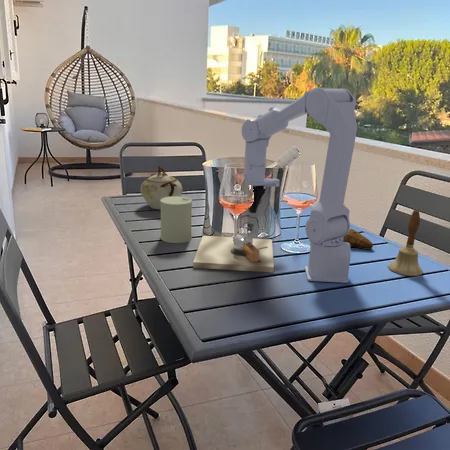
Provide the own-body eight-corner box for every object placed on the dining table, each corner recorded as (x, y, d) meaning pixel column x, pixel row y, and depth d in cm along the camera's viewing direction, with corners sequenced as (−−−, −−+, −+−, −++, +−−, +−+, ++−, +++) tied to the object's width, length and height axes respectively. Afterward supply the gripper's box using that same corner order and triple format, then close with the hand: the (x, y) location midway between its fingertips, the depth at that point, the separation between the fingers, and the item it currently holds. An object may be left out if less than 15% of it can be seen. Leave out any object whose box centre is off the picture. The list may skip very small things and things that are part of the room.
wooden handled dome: (230, 247, 122) (231, 236, 121) (248, 246, 123) (248, 235, 122) (245, 263, 112) (246, 251, 111) (264, 261, 113) (265, 249, 112)
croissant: (323, 241, 135) (325, 226, 134) (334, 236, 140) (336, 221, 138) (366, 254, 127) (368, 237, 125) (376, 248, 132) (379, 231, 130)
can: (195, 241, 131) (196, 201, 127) (164, 244, 128) (164, 203, 124) (186, 231, 139) (186, 193, 135) (157, 234, 136) (156, 195, 132)
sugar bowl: (132, 202, 169) (131, 162, 164) (169, 198, 176) (169, 160, 171) (152, 216, 153) (152, 172, 148) (192, 211, 160) (192, 169, 155)
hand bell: (424, 268, 118) (435, 209, 113) (419, 279, 111) (431, 217, 106) (391, 260, 122) (401, 203, 117) (385, 271, 115) (394, 211, 110)
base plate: (271, 244, 131) (271, 238, 130) (273, 272, 112) (273, 266, 111) (202, 240, 132) (202, 234, 131) (193, 267, 113) (193, 261, 112)
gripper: (273, 161, 130) (270, 206, 134) (225, 162, 125) (223, 209, 130) (283, 165, 123) (280, 213, 128) (233, 167, 119) (231, 216, 123)
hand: (252, 212), depth 128 cm, fingers closed
